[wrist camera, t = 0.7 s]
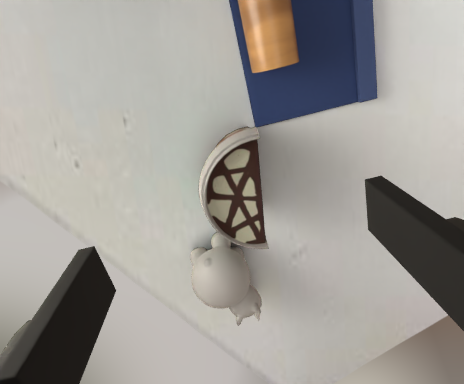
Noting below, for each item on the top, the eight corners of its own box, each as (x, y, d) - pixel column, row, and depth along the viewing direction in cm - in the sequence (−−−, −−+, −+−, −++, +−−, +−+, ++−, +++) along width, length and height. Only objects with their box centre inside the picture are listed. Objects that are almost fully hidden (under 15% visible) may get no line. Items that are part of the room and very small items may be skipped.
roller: (233, -13, 31) (235, -25, 26) (280, -26, 30) (291, -40, 26) (250, 72, 34) (254, 74, 29) (293, 61, 34) (304, 61, 29)
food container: (193, 120, 36) (187, 140, 26) (246, 113, 36) (259, 131, 26) (208, 215, 40) (208, 261, 31) (255, 209, 40) (269, 253, 31)
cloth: (205, -113, 28) (205, -119, 27) (359, -155, 27) (364, -163, 27) (255, 127, 36) (256, 128, 35) (373, 97, 36) (377, 98, 35)
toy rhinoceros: (232, 304, 46) (237, 354, 38) (182, 249, 42) (176, 292, 34) (273, 280, 45) (286, 326, 37) (225, 221, 41) (230, 259, 33)
